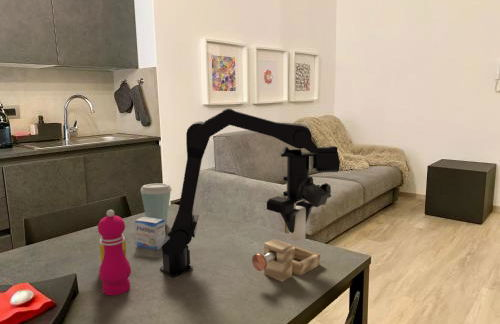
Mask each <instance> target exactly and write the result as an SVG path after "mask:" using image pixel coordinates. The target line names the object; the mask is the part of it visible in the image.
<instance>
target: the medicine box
mask: <svg viewBox="0 0 500 324" xmlns="http://www.w3.org/2000/svg"><path fill="white" fill-rule="evenodd" d="M134 223H135V238H136V239H135V240H136V241H135V243H136V247H137V248H138V249H140V248H141V249H148V250H154V251H159V250H162V248H161V247H162V245H163V242H164V240H165V238H166V225H165V221H164V219H157V218H149V217H146V216H141V217H139V218H138V219H136V220H135V221H134Z"/></svg>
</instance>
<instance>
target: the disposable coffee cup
mask: <svg viewBox="0 0 500 324" xmlns="http://www.w3.org/2000/svg"><path fill="white" fill-rule="evenodd" d="M171 192H172V187H171V185H170V184H169V183H148V184H144V185H142V186H141V188H140V195H141V198H142V204H143V209H144V213H145V214H144V215H145V217H149V218H157V219H164V221H165V226H166V225H167V223H168V217H169V215H168V214H169V208H170V199H171V194H172V193H171Z"/></svg>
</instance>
